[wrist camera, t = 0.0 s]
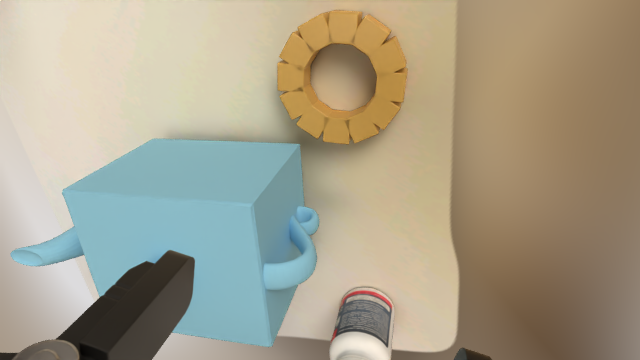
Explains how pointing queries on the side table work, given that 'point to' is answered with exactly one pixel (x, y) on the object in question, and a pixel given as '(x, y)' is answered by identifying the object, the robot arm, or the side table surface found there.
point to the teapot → (198, 229)
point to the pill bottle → (363, 326)
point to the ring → (366, 39)
